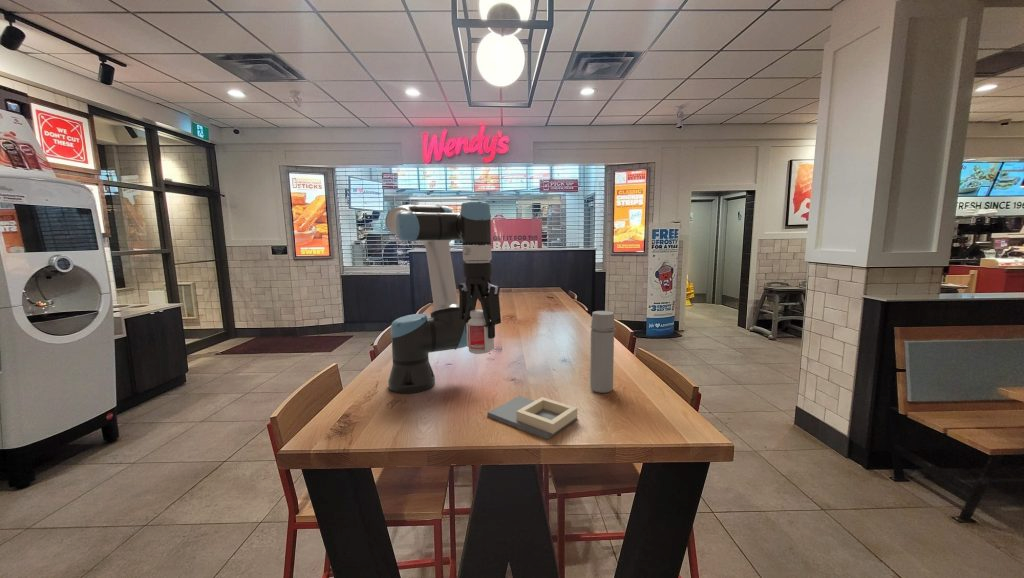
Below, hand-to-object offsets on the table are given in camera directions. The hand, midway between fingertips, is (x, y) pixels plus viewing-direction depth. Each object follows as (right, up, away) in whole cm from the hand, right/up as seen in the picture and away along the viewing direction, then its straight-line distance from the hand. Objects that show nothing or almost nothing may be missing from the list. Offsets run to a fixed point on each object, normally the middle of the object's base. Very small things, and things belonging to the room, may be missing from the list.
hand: (480, 347), depth 104 cm
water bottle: (+38, -16, +20) cm, 46 cm away
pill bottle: (0, -1, 0) cm, 1 cm away
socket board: (+14, -19, +1) cm, 24 cm away
